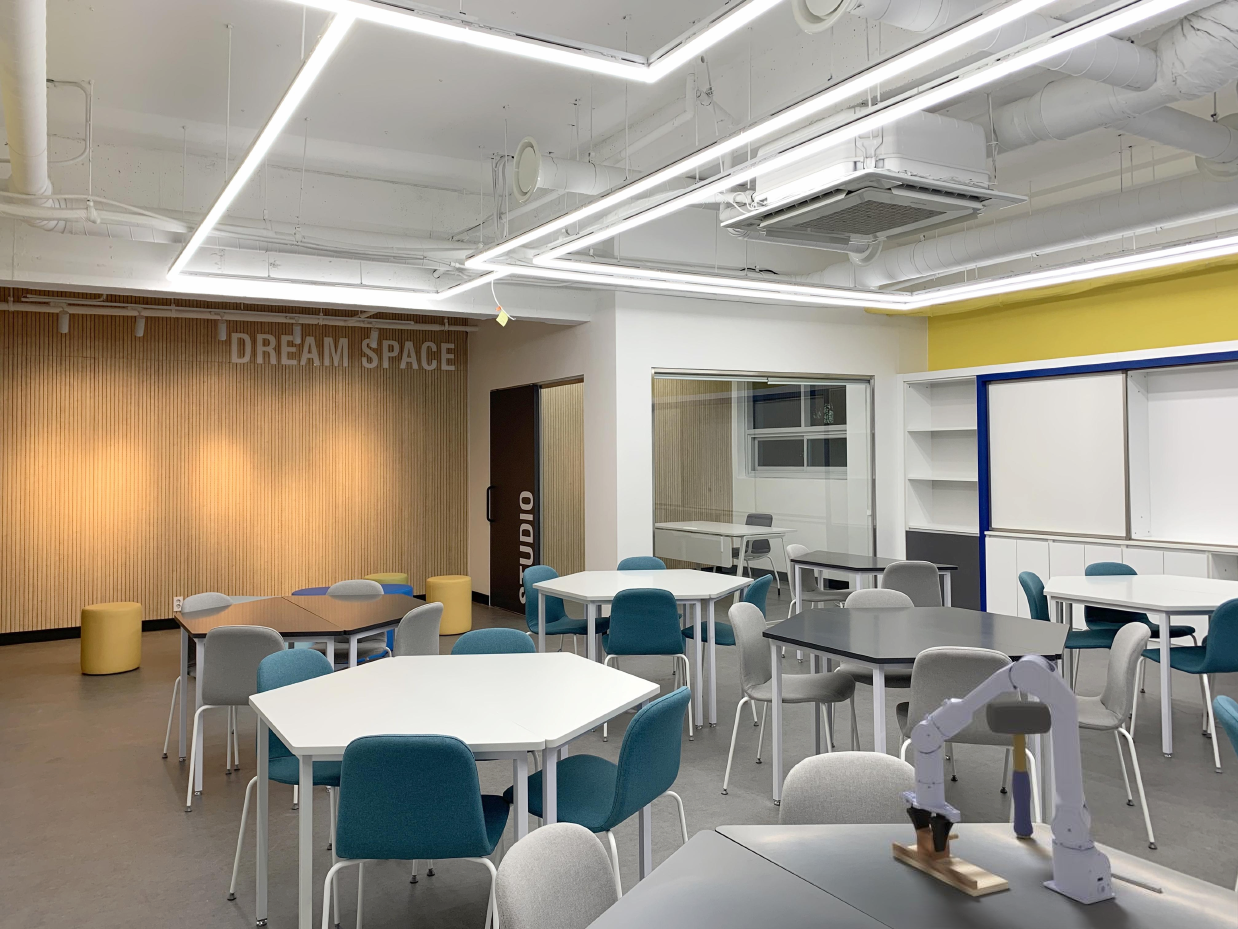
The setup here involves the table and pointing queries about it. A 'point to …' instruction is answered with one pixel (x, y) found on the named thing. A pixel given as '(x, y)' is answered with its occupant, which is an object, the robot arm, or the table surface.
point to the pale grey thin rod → (1136, 881)
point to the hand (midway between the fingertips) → (931, 847)
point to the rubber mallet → (1019, 749)
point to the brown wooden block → (932, 844)
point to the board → (952, 871)
